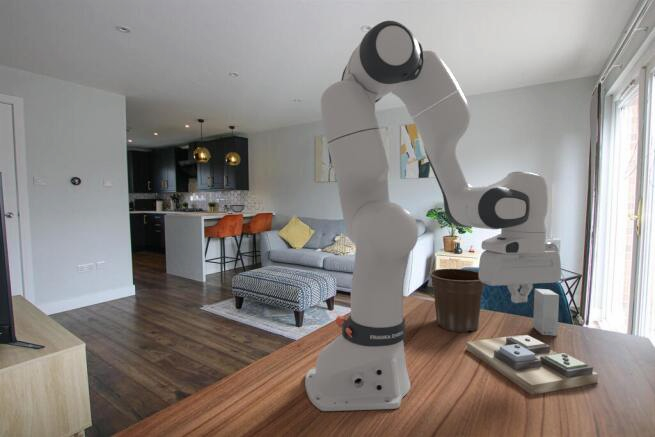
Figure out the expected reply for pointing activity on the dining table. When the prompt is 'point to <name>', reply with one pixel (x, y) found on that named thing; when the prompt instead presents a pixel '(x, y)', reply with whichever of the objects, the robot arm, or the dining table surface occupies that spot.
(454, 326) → the plant pot
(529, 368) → the key board
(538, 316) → the skincare box
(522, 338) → the one dot key
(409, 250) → the robot arm
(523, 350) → the two dot key
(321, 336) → the dining table surface
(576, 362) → the three dot key
